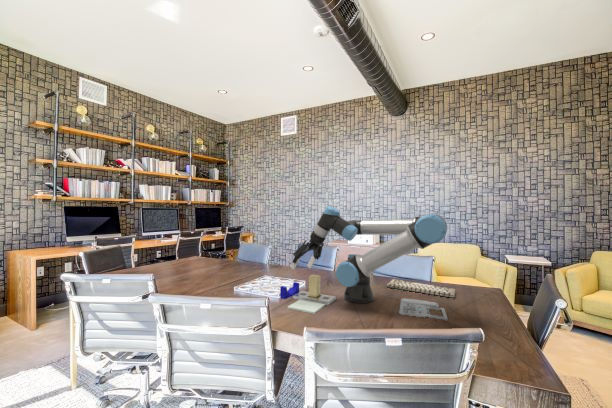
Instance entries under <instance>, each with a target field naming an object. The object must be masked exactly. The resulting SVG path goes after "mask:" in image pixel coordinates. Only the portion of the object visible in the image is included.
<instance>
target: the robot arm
mask: <svg viewBox="0 0 612 408" xmlns="http://www.w3.org/2000/svg"><path fill="white" fill-rule="evenodd" d="M340 214H341V212H340V210H339V209H337V208H336V207H334V206H331V205H327V206H326V208H325V209H324V210H323V212H322V214H321V216H320V218H319V219H318V221H317V224H316V225H315V226H314V229H313V231H312V232H311V234H310V236H309V238H310V239H309V240H307V239H306V240H304V242H303V243H302V245H300V246H299V247H298V249H296V251H295V252H294V253H292V254H293V256H294V258H293V260H292V262H291V264H290V265H289V267H290V268H291V269H292V270H295V269H296V266H298V264H299V262H300V260H301V258H302V257H303V256H304V255H305V254H307V253H308V252H310V251H312V253H313V255H311V257H310V259H309V261H308V263H307V264H306V267H308V269H312V267H313V265H314V264H315V262H316V260H319V259H320V258H321V256H322V252H323V248H324V245H325V243H324V242H325V241H326V238H327V237H328V236H329V233H330V232H331V230H332V231H334V232H335V234H338V235H339V236H340V237H342V238H343V239H345V240H347V241H350V242H351V241H352V240H354V238H356V236H358V235H359V236H361V235H364V236H365V235H367V236H368V235H375V236H376V235H377V236H384V235H385V236H387V235H388V236H394V237H392V238H390V239H389V240H388V241H385V242H384V243H382V244H379V245H378V246H376V247H375V248H373V249H371V250H370V251H367V252H366V253H364V254H348V255H347V260H345V261H342V262H340V263H339V264H338V266H336V269H335V277H336V279H337V281H338V282H339V284H341V285H342V286H344V287H345V289H344V291H343V298H344V300H346V301H348V302H349V303H355V304H369V303H371V302H374V293H373V290H372V287H371V274H372V272H374V271H376V270H378V269H379V268H382V267H384V266H385V265H387V264H389V263H391V262H393V261H395V260H396V259H398V258H400V257H403V256H404V255H406V254H408V253H409V252H411V251H413V250H416V249H421V250H423V249H425V248H427V247H429V246H431V245H433V244H437V243H440V242H441V241H442V240H443V239H445V237H446V235H447V233H448V224H447V222H446V220H445V218H443V217H442V216H440V215H437V214H431V213H429V214H424V215H423V216H415V217H413V218H410V219H409V218H405V219H404V218H403V219H401V218H399V219H366V220H364V219H363V220H361V219H360V220H359V219H357V220H356V219H353V220H352V219H351V220H345V219H344V218H342V217H341V216H340Z"/></svg>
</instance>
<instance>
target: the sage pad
mask: <svg viewBox="0 0 612 408" xmlns="http://www.w3.org/2000/svg"><path fill="white" fill-rule="evenodd" d="M325 306H326V305H325V304H321V303H315V302H310V301H304V300H298V299H297V300H296V301H295V302H293V303H291V304H289V305H288V306H287V307H286V308H287V309H288V310H293V311H298V312H304V313H307V314H312V315H315V314H316V313H318V312H319V311H321V310H322V309H323V308H324V307H325Z"/></svg>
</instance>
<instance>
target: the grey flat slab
mask: <svg viewBox="0 0 612 408" xmlns="http://www.w3.org/2000/svg"><path fill="white" fill-rule="evenodd" d="M431 309H435V310H434V311H439V310H441V313H442V315H436V314H431V312H430V310H431ZM399 314H401V315H400V316H405V315H409V316H408V317H412V316H416V317H415V318H420V317H424V318H423V319H426V318H425V317H429V318H428V319H433V318H436V319H435V320H441V319H442V321H448V315H447V312H446V310H445V308H444V307H440V306H439V303H437V302H436V301H433V300H421V299H414V298H401V299H400V303H399V309H398V315H399Z"/></svg>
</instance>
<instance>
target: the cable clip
mask: <svg viewBox="0 0 612 408" xmlns="http://www.w3.org/2000/svg"><path fill="white" fill-rule="evenodd" d="M279 289H280V290H279V291H280V299H282V300H286V299H288V298H292V297H293V295H295V294H297V293H299V292H300V282H297V281H294V282H293V283H292V287H289V289H288V286H283V285H282V286H280V288H279Z"/></svg>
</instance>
